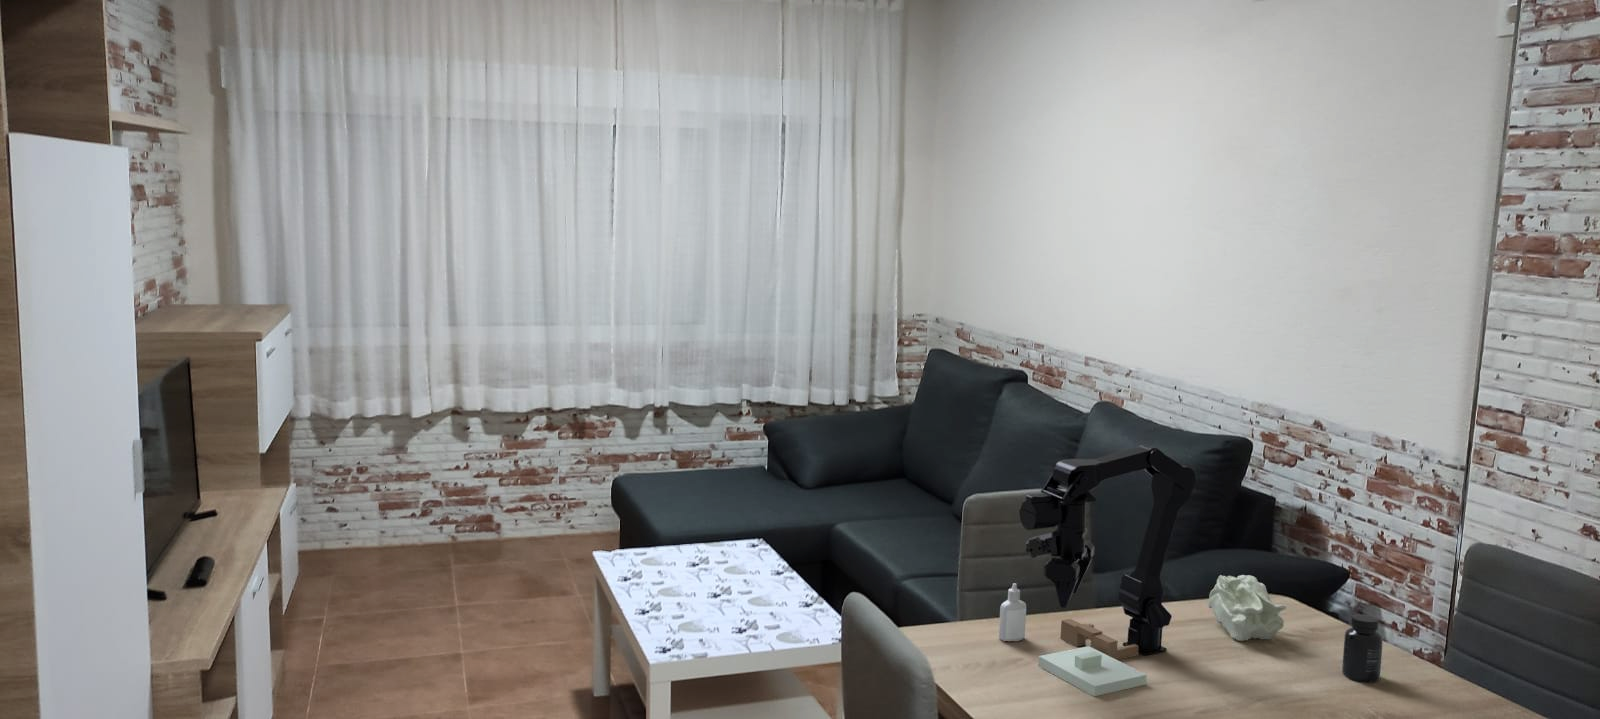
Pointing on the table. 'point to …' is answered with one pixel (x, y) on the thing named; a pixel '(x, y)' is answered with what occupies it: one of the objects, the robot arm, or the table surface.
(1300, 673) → the table surface
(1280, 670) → the table surface
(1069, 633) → the brown c-shaped bracket
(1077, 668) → the stand
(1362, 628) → the supplement bottle
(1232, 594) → the folded clay sculpture
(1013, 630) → the eye dropper bottle
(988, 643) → the table surface
